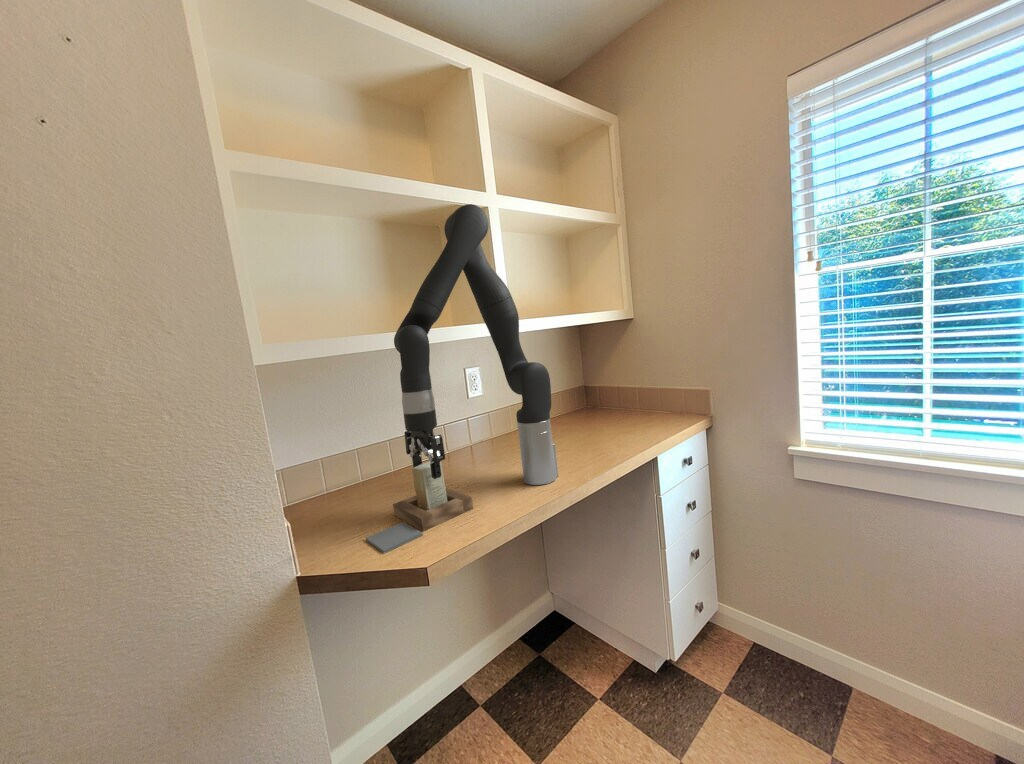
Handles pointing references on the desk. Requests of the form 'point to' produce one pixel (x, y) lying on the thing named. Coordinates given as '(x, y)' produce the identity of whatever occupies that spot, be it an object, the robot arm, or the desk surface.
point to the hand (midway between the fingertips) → (427, 474)
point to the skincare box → (428, 487)
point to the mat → (393, 537)
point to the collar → (432, 510)
